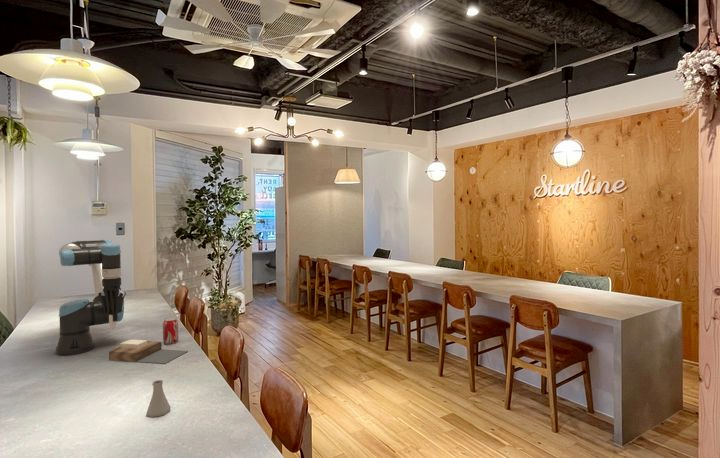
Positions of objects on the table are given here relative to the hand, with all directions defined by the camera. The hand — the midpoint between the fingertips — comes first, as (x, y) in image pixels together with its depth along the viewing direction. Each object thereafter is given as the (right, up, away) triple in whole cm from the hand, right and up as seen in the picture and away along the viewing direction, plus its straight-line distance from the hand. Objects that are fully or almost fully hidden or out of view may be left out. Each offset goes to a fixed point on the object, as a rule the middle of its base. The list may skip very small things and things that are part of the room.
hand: (113, 328), depth 186 cm
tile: (+11, -8, -2) cm, 13 cm away
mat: (+25, -12, -4) cm, 28 cm away
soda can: (+19, -12, +16) cm, 28 cm away
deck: (+12, -12, -2) cm, 17 cm away
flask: (+49, -14, -56) cm, 75 cm away
